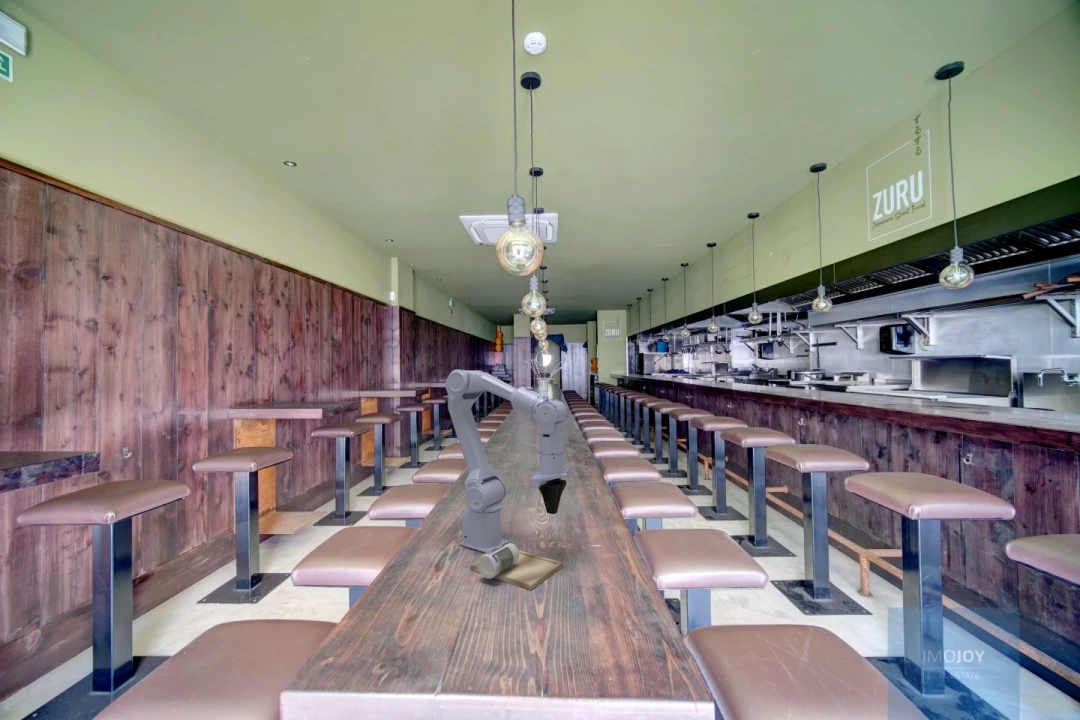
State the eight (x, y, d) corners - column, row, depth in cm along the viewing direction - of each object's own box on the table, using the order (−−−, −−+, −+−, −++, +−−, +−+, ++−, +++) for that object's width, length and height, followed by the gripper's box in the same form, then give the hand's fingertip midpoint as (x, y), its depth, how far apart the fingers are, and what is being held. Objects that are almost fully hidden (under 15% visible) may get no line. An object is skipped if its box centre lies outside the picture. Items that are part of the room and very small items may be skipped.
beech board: (470, 569, 88) (470, 564, 88) (505, 550, 98) (505, 545, 98) (531, 590, 79) (531, 584, 79) (562, 567, 89) (562, 561, 89)
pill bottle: (492, 584, 81) (518, 568, 88) (497, 562, 81) (523, 547, 88) (475, 571, 84) (501, 557, 91) (480, 550, 83) (506, 537, 90)
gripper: (549, 459, 86) (549, 525, 86) (581, 449, 98) (582, 507, 98) (522, 456, 90) (522, 519, 89) (556, 447, 102) (557, 502, 101)
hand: (551, 512), depth 94 cm, fingers closed
